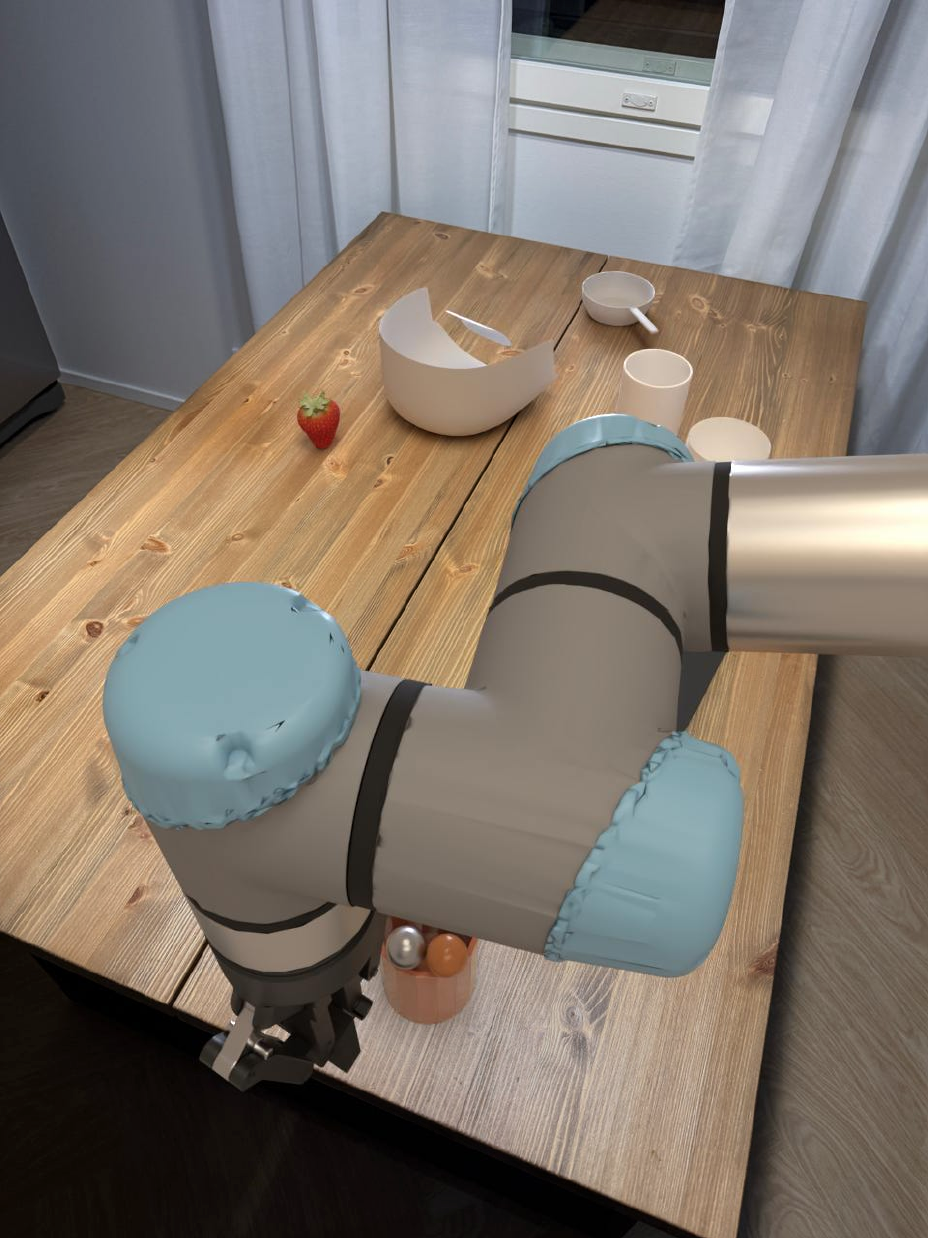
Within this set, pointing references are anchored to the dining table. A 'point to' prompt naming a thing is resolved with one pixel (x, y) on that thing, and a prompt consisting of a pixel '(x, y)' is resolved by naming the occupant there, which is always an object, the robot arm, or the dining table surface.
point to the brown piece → (447, 956)
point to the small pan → (618, 299)
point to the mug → (655, 387)
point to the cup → (727, 441)
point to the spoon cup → (427, 980)
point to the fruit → (319, 419)
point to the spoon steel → (406, 947)
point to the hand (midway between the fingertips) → (336, 1050)
